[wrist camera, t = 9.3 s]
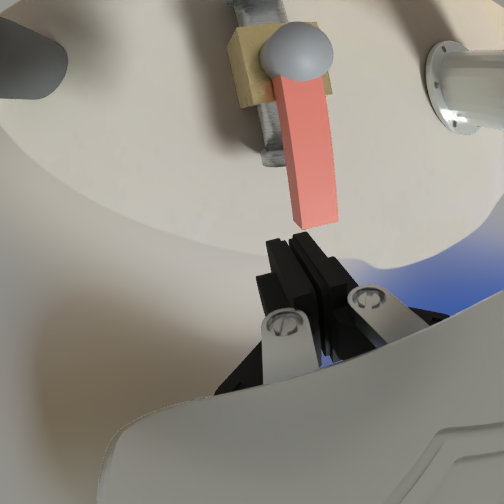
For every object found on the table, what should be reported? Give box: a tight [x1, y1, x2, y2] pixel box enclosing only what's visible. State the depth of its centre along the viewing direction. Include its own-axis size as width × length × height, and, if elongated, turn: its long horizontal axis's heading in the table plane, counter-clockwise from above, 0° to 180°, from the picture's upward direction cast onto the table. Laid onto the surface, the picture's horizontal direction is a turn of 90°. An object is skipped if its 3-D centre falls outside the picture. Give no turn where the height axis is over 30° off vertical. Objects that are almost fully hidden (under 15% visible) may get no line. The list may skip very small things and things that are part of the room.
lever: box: [260, 22, 338, 230], centre depth 18 cm, size 14×4×3 cm, turn 10°
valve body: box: [226, 0, 332, 167], centre depth 20 cm, size 6×16×6 cm, turn 11°
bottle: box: [0, 17, 68, 100], centre depth 11 cm, size 6×6×15 cm
